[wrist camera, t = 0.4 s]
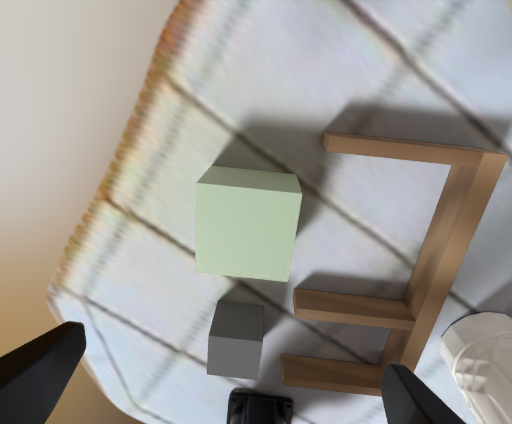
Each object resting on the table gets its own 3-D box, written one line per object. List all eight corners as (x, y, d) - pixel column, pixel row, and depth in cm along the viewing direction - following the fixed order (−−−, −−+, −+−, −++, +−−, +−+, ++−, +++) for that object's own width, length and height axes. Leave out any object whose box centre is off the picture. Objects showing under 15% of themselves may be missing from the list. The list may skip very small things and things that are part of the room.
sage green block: (284, 247, 22) (287, 282, 18) (209, 239, 22) (195, 272, 18) (295, 173, 20) (302, 193, 16) (211, 165, 20) (196, 182, 16)
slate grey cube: (259, 340, 26) (257, 380, 22) (216, 335, 26) (206, 374, 22) (263, 305, 25) (262, 341, 21) (218, 299, 25) (208, 335, 21)
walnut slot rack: (390, 373, 27) (401, 398, 24) (281, 361, 27) (281, 385, 24) (480, 148, 19) (508, 155, 16) (323, 131, 19) (330, 135, 16)
